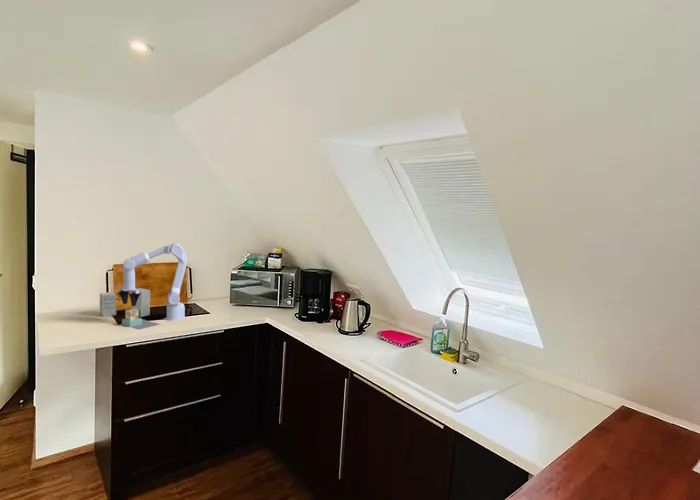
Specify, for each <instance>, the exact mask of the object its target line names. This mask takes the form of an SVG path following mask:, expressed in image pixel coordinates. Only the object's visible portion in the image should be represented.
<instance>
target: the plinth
mask: <svg viewBox="0 0 700 500" xmlns="http://www.w3.org/2000/svg"><path fill="white" fill-rule="evenodd" d="M142 319H143V318H142V317H138V319H136V320H132V321H130V320H126V318H122V319H121V324H122V325H121V326H124V325H125V326H124V327H128V328H131V327H132V326H137V325H141V324H142Z"/></svg>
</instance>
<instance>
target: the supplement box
mask: <svg viewBox="0 0 700 500" xmlns="http://www.w3.org/2000/svg"><path fill="white" fill-rule="evenodd" d="M99 314H100V315H101V316H102V317H111V316H117V294H116V293H115V292H113V291H110V292H108V291H107V292H100V293H99Z"/></svg>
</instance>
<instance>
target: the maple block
mask: <svg viewBox="0 0 700 500" xmlns="http://www.w3.org/2000/svg"><path fill="white" fill-rule="evenodd" d="M124 314H125V317H124V318H125V319H126V320H130V321H132V320H136V319H138V318H139V317H138V310H136V309H130V308H129V309H126V310H125V313H124Z"/></svg>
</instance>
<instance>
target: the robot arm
mask: <svg viewBox="0 0 700 500" xmlns="http://www.w3.org/2000/svg"><path fill="white" fill-rule="evenodd" d="M164 254H165V255H170V254H171V255H173V256H174V257H175V258H176V259H177V260H178V262H177V266H176V270H175V273H174V278H173V281H172V285H171V288H170V291H169V292H168V294H167V296H166V297H167V303H166V317H164V318H163V320H166V321H168V322H169V321H170V322H175V321H179V320H183V319H186V318H187V317H185V316H186V314H185V313H186V312H185V311H186V307H185V304H184V303H182V302H181V301H180V300H181V298H180V294H181V289H182V285H183V280H184V276H185V272H186V268H187V265H188V256H187V254H186V251H185V249H184V247H182V246H181V244H180V243H178V242H174V243H171V244H167V245H164V246H161V247H159V248H157V249H155V250H153V251H151V252H148V253H146V252H139V254H137V255H134V256H130V257H129V258H126V259H125V260H124V261H123V264H122V267H123V283H122V284H123V286H119V291H118V295H119V296H120V299H121V302H122V304H123V305H125V304H126V305H127V304H128V301H129V299H128V298H129V297H130V305H131V307H132V306H136V303H137V300H138V297H139V296H140V293H139V290H138V289H139V288H136V272H135V268H136V267H139V266H142V265H144V264H147V263H148V262H150V260H151V259H153V258H155V257H158V256H161V255H164Z"/></svg>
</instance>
